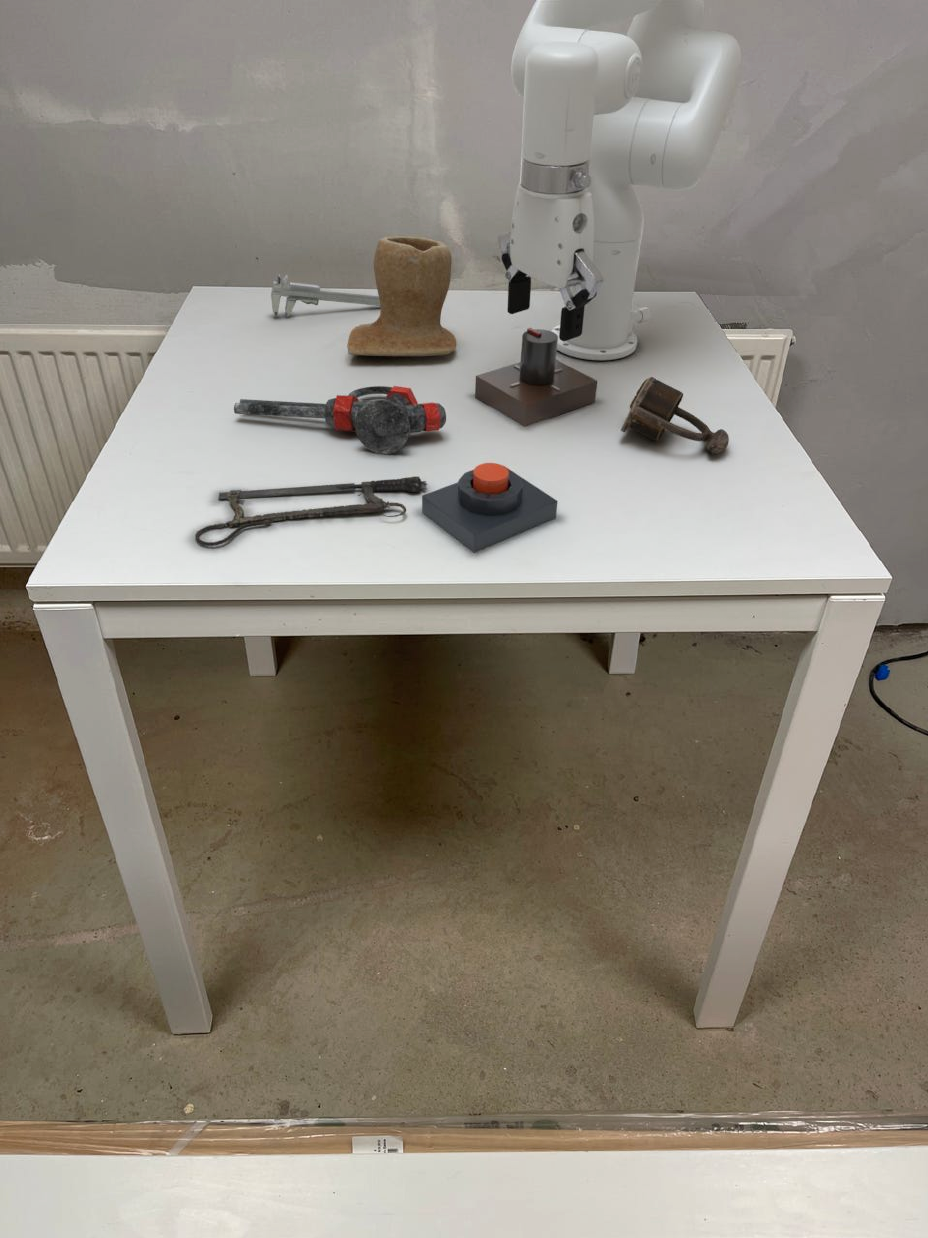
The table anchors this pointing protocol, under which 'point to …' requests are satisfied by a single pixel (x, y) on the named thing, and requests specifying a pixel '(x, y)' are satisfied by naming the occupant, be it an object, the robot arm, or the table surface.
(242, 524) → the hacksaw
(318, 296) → the caliper
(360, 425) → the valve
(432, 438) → the table surface
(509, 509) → the button box
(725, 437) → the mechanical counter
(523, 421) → the dial panel
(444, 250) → the stone cup
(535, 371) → the dial
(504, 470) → the button
